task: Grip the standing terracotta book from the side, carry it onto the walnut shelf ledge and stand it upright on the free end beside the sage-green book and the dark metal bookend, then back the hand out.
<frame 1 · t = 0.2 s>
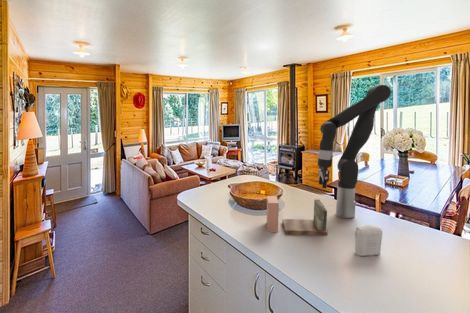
hand: (322, 186, 148), 17 cm above the worktop, tool pointing down, fingers open, 8 cm apart
photo printer: (367, 254, 109), on the worktop
terracotta book: (272, 227, 135), on the worktop
dish sponge: (365, 239, 123), on the worktop
shelf ledge: (303, 228, 133), on the worktop
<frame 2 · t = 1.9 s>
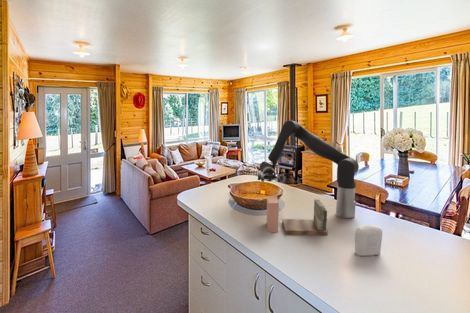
hand: (270, 180, 145), 22 cm above the worktop, tool horizontal, fingers open, 8 cm apart
nothing on the worktop moved.
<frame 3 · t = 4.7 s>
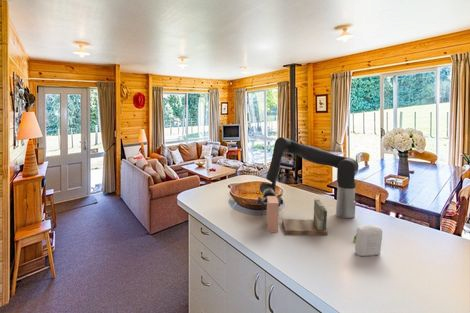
hand: (271, 205, 144), 8 cm above the worktop, tool horizontal, fingers open, 8 cm apart
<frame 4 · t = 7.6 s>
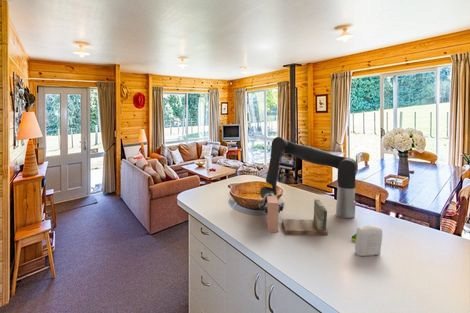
hand: (272, 211, 133), 9 cm above the worktop, tool horizontal, fingers closed on terracotta book, 5 cm apart
terracotta book: (272, 227, 135), on the worktop, touching gripper
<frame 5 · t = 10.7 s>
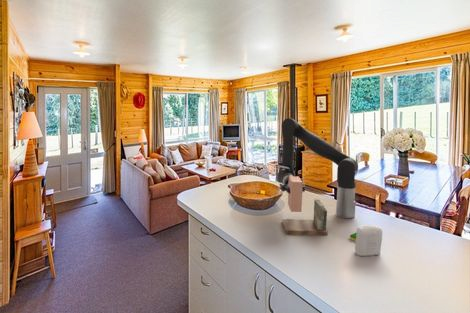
hand: (295, 191, 130), 20 cm above the worktop, tool horizontal, fingers closed on terracotta book, 5 cm apart
terracotta book: (294, 207, 132), point 11 cm above the worktop, touching gripper
when the fingers open (11 cm above the worktop, at t = 13.4 s): terracotta book stays where it is, resting on shelf ledge.
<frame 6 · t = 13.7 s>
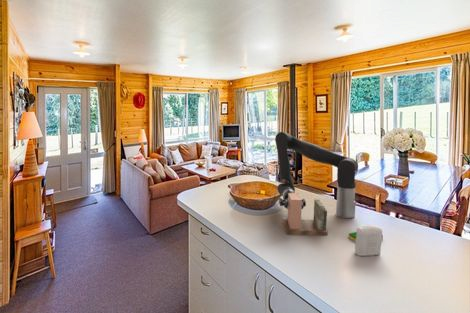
hand: (294, 207, 132), 12 cm above the worktop, tool horizontal, fingers open, 7 cm apart
terracotta book: (293, 224, 134), point 2 cm above the worktop, touching shelf ledge
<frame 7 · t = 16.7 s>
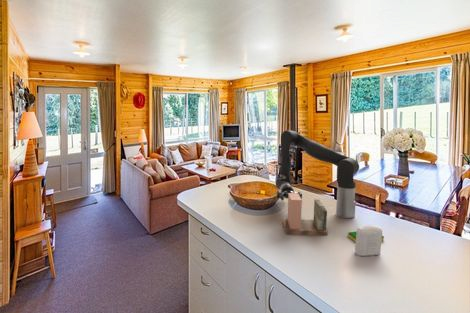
hand: (290, 198, 145), 11 cm above the worktop, tool horizontal, fingers open, 8 cm apart
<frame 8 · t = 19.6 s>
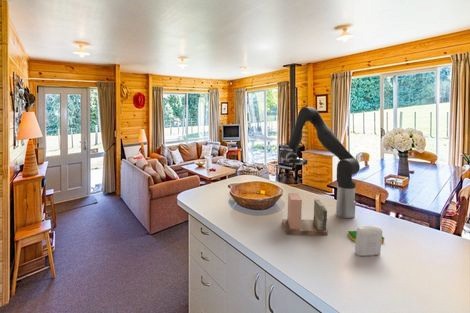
hand: (296, 163, 150), 30 cm above the worktop, tool horizontal, fingers open, 8 cm apart
at the end: terracotta book inside the target area on the shelf ledge (0.3 cm from its centre), point 2.0 cm above the shelf ledge's base; terracotta book tilted 0°; the gripper is holding nothing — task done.
